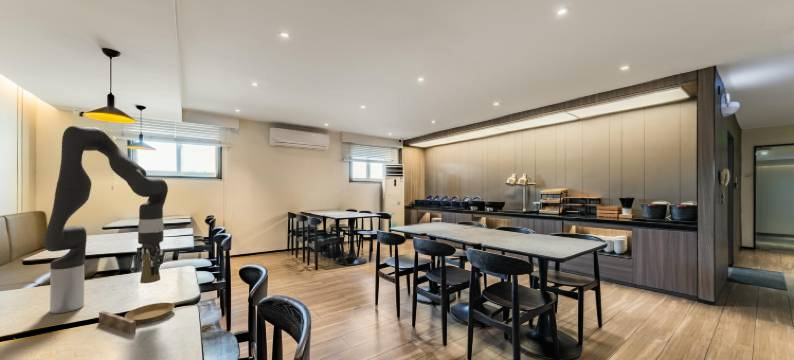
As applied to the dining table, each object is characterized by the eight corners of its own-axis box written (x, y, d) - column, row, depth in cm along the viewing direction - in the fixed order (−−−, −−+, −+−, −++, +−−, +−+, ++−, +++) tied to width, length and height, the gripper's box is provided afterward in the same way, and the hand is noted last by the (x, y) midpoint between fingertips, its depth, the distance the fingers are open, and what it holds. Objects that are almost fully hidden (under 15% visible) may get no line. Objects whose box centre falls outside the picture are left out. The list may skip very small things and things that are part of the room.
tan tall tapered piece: (148, 283, 111) (149, 254, 111) (135, 282, 113) (136, 253, 112) (164, 278, 117) (164, 250, 117) (151, 277, 118) (152, 249, 118)
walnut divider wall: (99, 323, 109) (99, 312, 109) (103, 321, 110) (103, 310, 110) (131, 334, 102) (131, 322, 102) (135, 332, 103) (135, 321, 103)
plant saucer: (162, 324, 109) (162, 317, 109) (114, 328, 106) (114, 321, 106) (181, 307, 124) (181, 301, 124) (140, 310, 121) (140, 304, 120)
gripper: (128, 230, 114) (127, 275, 114) (151, 233, 109) (150, 280, 109) (150, 227, 121) (150, 269, 121) (173, 230, 116) (172, 274, 116)
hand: (150, 274), depth 115 cm, fingers closed on tan tall tapered piece, 4 cm apart
